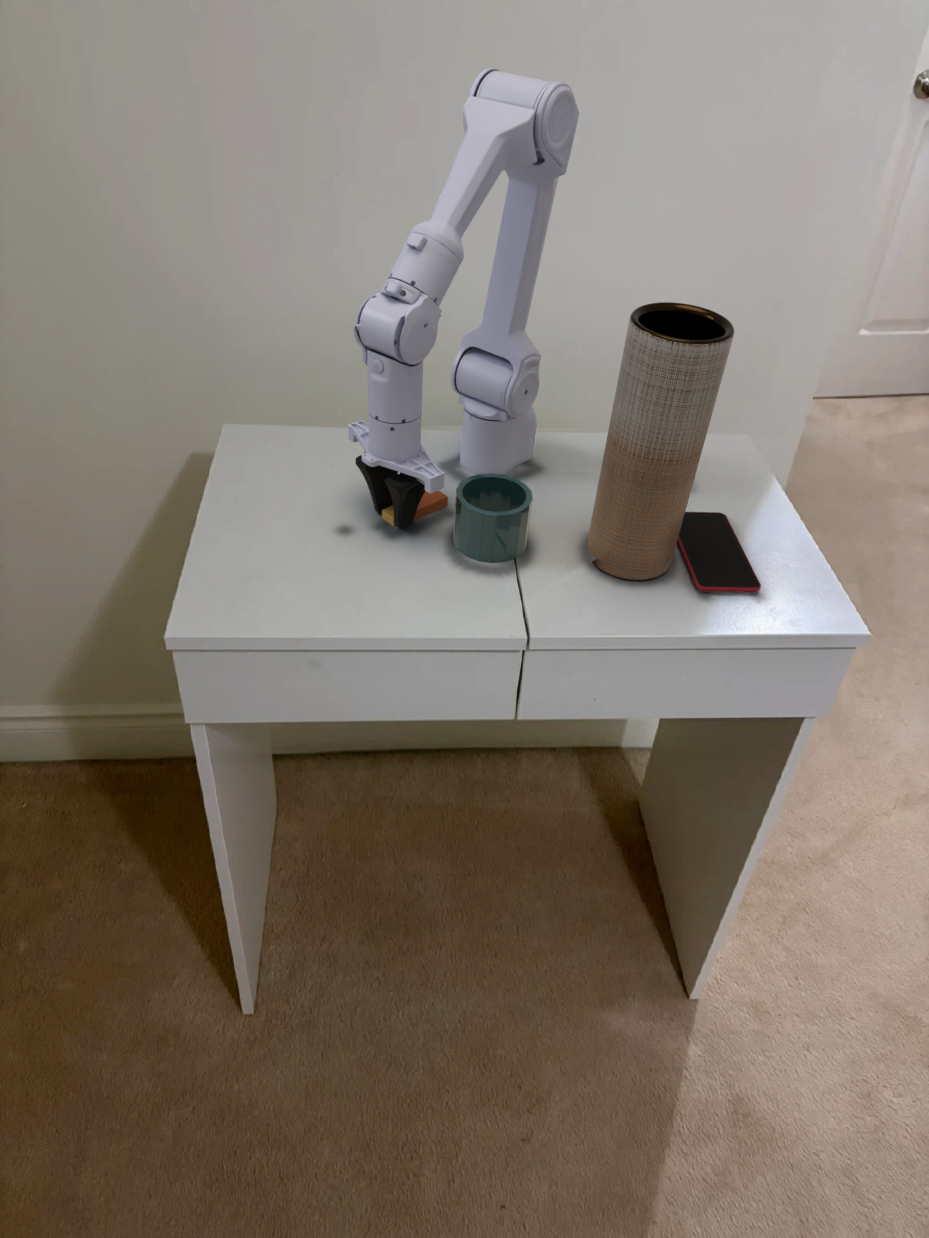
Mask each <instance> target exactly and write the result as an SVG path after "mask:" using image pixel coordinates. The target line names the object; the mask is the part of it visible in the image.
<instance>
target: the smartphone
mask: <svg viewBox="0 0 929 1238" xmlns="http://www.w3.org/2000/svg"><path fill="white" fill-rule="evenodd" d="M677 544H678V546H679V548H680V550H681V553H682V555H683V557H684V560H685V563H686V565H687V568H688V570H689V573H690V575H691V578H692V580H693V582H694V585H695V588H696V589H697V590H699V591H701V592H704V593H707V592H708V593H710V592H711V593H757V592H759V591H760V590H761V587H762V585H761V583H760V580H759V578H758V577H757V575H756V572H755V571H754V570H755V569H753V567H752V565H751V562H750V560H749V558H748V556H747V554H746V552H745V551H744V548H743V546H742V545H741V542H740V540H739V539H738V537H737V534H736V533H735V530H734V528H733V526H732V525H731V521H730V520H729V518H728V517H727V515H726V514H725V513H722V512H720V511H719V512H718V511H717V512H714V511H713V512H712V511H685V514H684V518H683V522H682V525H681V529H680V533H679V536H678V540H677Z"/></svg>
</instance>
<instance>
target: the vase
mask: <svg viewBox="0 0 929 1238" xmlns="http://www.w3.org/2000/svg"><path fill="white" fill-rule="evenodd" d="M734 336H735V327H734V324H733V323H732V322H731V321H730V320H729V319H728V318H726V317H725V316H723V315H722V314H720V313H718V312H716V311H713V310H711V309H709V308H705V307H702V306H700V305H699V306H698V305H693V304H688V303H682V302H669V301H666V302H665V301H664V302H661V301H660V302H652V303H647V304H643V305H641V306H639V307H637V308H635V309H633V311H632V312H631V313H630V315H629V319H628V325H627V331H626V335H625V340H624V346H623V351H622V357H621V362H620V367H619V371H618V372H619V373H618V378H617V384H616V388H615V394H614V397H613V404H612V409H611V415H610V420H609V424H608V430H607V436H606V441H605V447H604V451H603V457H602V461H601V466H600V467H601V468H600V473H599V477H598V483H597V488H596V493H595V498H594V504H593V509H592V515H591V519H590V525H589V526H590V527H589V530H588V534H587V535H588V536H587V543H586V544H587V549H588V551H589V553H590V554H591V555H592V556H593V557H594V558H595V559H594V560H592V561H591V563H592V564H593V565H594V566H595V567H597V568H598V569H599V570H600V571H602V572H604V573H606V574H608V575H610V576H613V577H615V578H619V579H622V580H630V581H647V580H651V579H655V578H658V577H659V576H661V575H663V574H665V573H666V572H667V571H668V569H669V568H670V566H671V564H672V561H673V558H674V554H675V551H676V547H677V544H678V541H677V540H678V536H679V533H680V529H681V525H682V522H683V518H684V514H685V512H687V507H688V503H689V499H690V496H691V493H692V489H693V486H694V481H695V479H696V474H697V472H698V471H697V470H698V467H699V463H700V460H701V457H702V453H703V449H704V446H705V443H706V438H707V435H708V430H709V427H710V423H711V420H712V416H713V413H714V410H715V405H716V401H717V398H718V395H719V391H720V388H721V384H722V379H723V376H724V373H725V369H726V367H727V366H726V365H727V362H728V357H729V354H730V350H731V346H732V344H733V341H734Z"/></svg>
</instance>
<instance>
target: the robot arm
mask: <svg viewBox="0 0 929 1238" xmlns="http://www.w3.org/2000/svg"><path fill="white" fill-rule="evenodd" d="M579 116H580V111H579V107H578V104H577V101H576V97H575V94H574V92H573V90H572V87H571V86H570V85H569V84H568V83H567V82H565V81H550V80H545V79H540V78H535V77H531V76H525V75H521V74H515V73H511V72H504V71H501V70H500V69H498V68H494V67H487V68H485V69H483V70H482V71H480V73H479V74H478V75H477V76H476V78H475V79H474V81H473V83H472V85H471V87H470V90H469V94H468V97H467V99H466V101H465V103H464V104H463V107H462V123H463V124H462V125H463V131H464V137H463V138H462V140H461V141H462V142H461V144H460V146H459V148H458V151H457V153H456V156H455V158H454V161H453V164H452V166H451V168H450V170H449V173H448V176H447V178H446V180H445V183H444V185H443V187H442V190H441V193H440V195H439V198H438V200H437V202H436V205H435V207H434V209H433V211H432V214H431V216H430V219H428V220H425V221H423V222H421V223H418V224H415V225H414V226H413V227H412V229H411V231H410V233H409V234H408V237H407V239H406V241H405V243H404V245H403V247H402V249H401V251H400V253H399V255H398V257H397V259H396V260H395V263H394V264H393V267H392V268H391V271H390V273H389V274H388V277H387V279H386V280H385V282H384V284H383V286H382V288H381V290H380V291H379V292H376V293H375V294H372V295H370V296H369V297H367V298H366V299H365V300H364V302H363V303H362V305H361V306H360V308H359V309H358V313H357V317H356V323H355V324H354V325H353V328H352V329H353V335H354V338H355V340H356V342H357V344H358V346H360V348H361V350H362V351H361V352H362V362H363V363H364V364H365V365H366V367H367V421H368V422H367V421H365V420H363V419H361V420H358V421H355V422H352V423H349V424H348V425H347V430H348V431H347V432H348V440H349V441H351V442H352V443H358V442H359V445H360V447H361V448H362V450H363V451H364V452H363V454H360V455H358V456H356V458H355V465H356V467H357V468H358V470H359V471H360V472H361V474H362V477H363V478H364V480H365V483H366V485H367V487H368V488H367V489H368V491H369V494H370V496H371V500H372V504H373V507H374V511H375V512H376V513H377V514H378V515H382V510H383V509H386V508H388V507H390V506H393V511H394V521H395V525H396V526H395V527H396V528H397V529H399V530H402V529H403V528H405V527H408V526H410V525H412V524H414V521H415V520H414V517H415V514H416V511H417V508H418V505H419V503H420V501H421V498H422V496H423V495H424V493H425V491H427V492H428V493H430V494H431V493H433V492H436V491H438V490H439V491H440V490H442V489H444V488H445V477H446V476H445V475H446V473H445V472H444V471H443V470H442V469H440V468H439V467H438V466H437V465H436V463H435V462H434V460H433V459H432V458H431V457H430V455H429V454H428V452H427V451H426V449H425V448H424V447H423V446H422V443H421V442H422V420H423V419H422V417H423V385H424V384H423V383H424V382H423V381H424V360H425V359H426V358H427V357H428V355H429V354H430V352H431V350H433V348H434V347H435V344H436V340H437V336H438V330H439V321H440V318H441V317H442V316H441V315H442V314H441V313H442V309H441V308H440V306H441V304H442V302H443V300H444V298H445V296H446V294H447V292H448V290H449V288H450V287H451V284H452V282H453V280H454V278H455V276H456V274H457V272H458V271H459V269H460V266H461V265H462V263H463V261H464V258H465V253H464V247H463V242H462V238H463V236H464V234H465V232H466V231H467V229H468V227H469V226H470V224H471V223H472V221H473V219H474V217H476V215H477V213H478V211H479V210H480V208H481V206H482V205H483V203H484V201H485V200H486V198H487V196H488V195H489V193H490V192H491V190H492V189H493V187H494V185H495V183H496V182H497V180H498V178H499V177H500V175H501V174H502V172H503V171H504V172H505V173H506V175H507V177H508V183H507V188H506V195H505V199H504V204H503V210H502V214H501V220H500V224H499V225H500V226H499V231H498V236H497V240H496V241H497V242H496V246H495V251H494V257H493V262H492V268H491V271H490V272H491V273H490V278H489V279H490V280H489V283H488V289H487V293H486V299H485V304H484V309H483V315H482V320H481V324H480V325H478V326H477V327H474V328H472V329H471V330H469V331H468V332H466V333H464V334H463V335H462V336H461V340H460V346H459V349H458V351H457V354H456V356H455V358H454V360H453V362H452V364H451V368H450V385H451V388H452V390H453V391H454V392H455V393H456V394H458V403H459V404H461V405H462V419H461V435H460V451H459V463H460V466H462V468H464V469H465V470H466V471H468V472H470V473H473V474H474V475H478V474H492V473H493V474H502V475H506V474H507V473H509V472H511V471H512V470H513V469H514V468H515V467H517V466H519V465H520V464H524V463H525V462H528V461H530V460H531V459H533V455H534V449H535V448H534V447H535V440H536V432H537V415H536V412H535V408H534V406H533V404H534V402H535V401H536V398H537V395H538V393H539V388H540V363H541V358H542V354H541V353H540V350H539V349H538V348H537V346H536V345H535V343H534V342H533V341H532V339H531V338H530V336H529V335H528V333H527V331H526V328H527V325H528V319H529V314H530V312H531V311H530V310H531V306H532V301H533V297H534V292H535V287H536V283H537V279H538V274H539V269H540V265H541V260H542V257H543V256H542V255H543V251H544V246H545V242H546V238H547V233H548V227H549V224H550V218H551V214H552V210H553V205H554V201H555V197H556V191H557V186H558V182H559V178H560V177H562V176H564V175H566V173H567V169H568V166H569V161H570V158H571V153H572V148H573V145H574V140H575V136H576V130H577V126H578V121H579ZM413 520H414V521H413Z"/></svg>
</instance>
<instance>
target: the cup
mask: <svg viewBox="0 0 929 1238" xmlns="http://www.w3.org/2000/svg"><path fill="white" fill-rule="evenodd" d="M454 499H455V501H454V517H453V530H452V531H453V532H452V541H453V545H454V546H455V548H456V550H457V551H458V552H459V553H461V554H462V555H463V556H465V557H467V558H469V559H471V560H475V561H477V562H480V563H488V564H498V563H506V562H510V561H512V560H515V559H517V558H518V557H520V556H521V555H522V554H523V553H524V552H525V550H526V548H527V546H528V545H527V544H528V538H529V537H528V536H529V529H530V522H531V514H532V509H533V508H532V506H533V500H534V498H533V493H532V490H531V489H530V487H529V486H528V485H527V484H526V483H525V482H522V481H521V480H519V479H518V478H515V477H512V476H510V475H506V474H503V475H502V474H493V473H492V474H474V475H471V476H468V477H466V478H465V479H463V480H462V481H460V482H459V483H458V485H457V486H456V489H455V498H454Z"/></svg>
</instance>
